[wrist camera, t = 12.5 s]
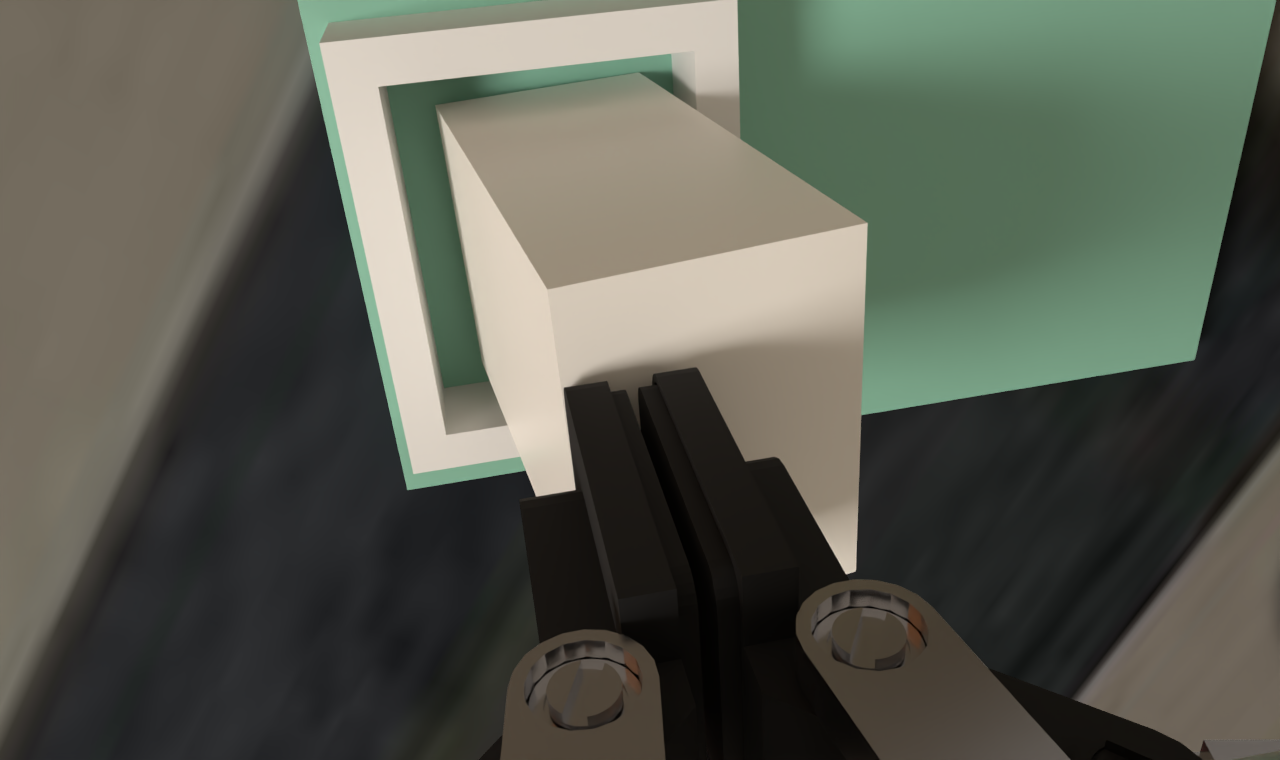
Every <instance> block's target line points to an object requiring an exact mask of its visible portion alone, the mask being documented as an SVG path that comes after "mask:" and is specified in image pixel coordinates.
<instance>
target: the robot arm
mask: <svg viewBox="0 0 1280 760" xmlns="http://www.w3.org/2000/svg"><path fill="white" fill-rule="evenodd" d="M564 400H565V409H566V417H567V425H568V433H569V441H570V449H571V457H572V465H573V473H574V481H575V489H576V490H573V491H567V492H561V493H555V494H549V495H543V496H537V497H531V498H525V499H519V501H520V509H521V516H522V523H523V530H524V536H525V543H526V550H527V557H528V564H529V571H530V578H531V585H532V592H533V599H534V606H535V613H536V620H537V627H538V634H539V641H540V644H539V645H538V646H536V647H535V648H534V649H532V650H531V651H530V652H528V653H527V654H526V655H525V656H524V657H523V658H522V660H521V661H520V662H519V664H518V665H517V666H516V668H515V669H514V670H513V672H512V676H511V679H510V682H509V686H508V689H507V698H506V708H505V718H504V728H503V735H502V736H501V737H500V738H499V739H498V740H497V741H496V742H495V743H494V744H493V745H492V747H491V748H490V749H489V750H488V751H487V752H486V753H485V754H484V755H483V756H482V757H481V758H480V759H479V760H707V755H706V747H707V750H708V753H709V756H710V760H1280V740H1204V741H1203V744H1202V748H1201V751H1200V752H1192V751H1191V750H1189V749H1188V748H1187V747H1186V746H1184V745H1183V744H1182V743H1180V742H1178V741H1176V740H1174V739H1172V738H1170V737H1168V736H1166V735H1164V734H1162V733H1160V732H1158V731H1155V730H1153V729H1150V728H1148V727H1145V726H1142V725H1140V724H1137V723H1134V722H1132V721H1129V720H1126V719H1124V718H1121V717H1118V716H1115V715H1113V714H1110V713H1107V712H1105V711H1102V710H1099V709H1097V708H1094V707H1091V706H1089V705H1086V704H1083V703H1081V702H1078V701H1075V700H1073V699H1070V698H1067V697H1064V696H1062V695H1059V694H1056V693H1054V692H1051V691H1048V690H1046V689H1043V688H1040V687H1038V686H1035V685H1032V684H1030V683H1027V682H1024V681H1022V680H1019V679H1016V678H1013V677H1011V676H1008V675H1005V674H1003V673H1000V672H997V671H995V670H992V669H989V668H987V667H986V666H985V665H984V664H983V662H982V661H981V660H980V659H979V658H978V657H977V656H976V655H975V654H974V652H973V651H972V650H971V649H970V648H969V647H968V646H967V645H966V644H965V643H964V641H963V640H962V639H961V638H960V637H959V636H958V635H957V634H956V633H955V631H954V630H953V629H952V628H951V627H950V626H949V625H948V624H947V623H946V622H945V620H944V619H943V618H942V617H941V616H940V615H939V614H938V613H937V612H936V610H935V609H934V608H933V607H932V606H930V605H929V604H928V603H927V602H926V601H924V600H923V599H922V598H921V597H920V596H918V595H917V594H915V593H913V592H911V591H909V590H906V589H904V588H902V587H900V586H898V585H894V584H890V583H886V582H882V581H877V580H856V579H854V580H849V579H848V577H847V575H846V574H845V572H844V570H843V568H842V566H841V565H840V563H839V561H838V559H837V558H836V556H835V554H834V552H833V551H832V549H831V547H830V545H829V544H828V542H827V540H826V538H825V536H824V535H823V533H822V531H821V529H820V528H819V526H818V524H817V522H816V521H815V519H814V517H813V515H812V514H811V512H810V510H809V508H808V506H807V505H806V503H805V501H804V499H803V498H802V496H801V494H800V492H799V491H798V489H797V487H796V485H795V484H794V482H793V480H792V478H791V477H790V475H789V473H788V471H787V469H786V468H785V466H784V464H783V463H782V462H781V460H780V459H779V458H777V457H770V458H764V459H758V460H752V461H746V462H745V460H744V458H743V456H742V454H741V452H740V450H739V448H738V446H737V444H736V442H735V440H734V438H733V436H732V434H731V432H730V430H729V428H728V426H727V424H726V422H725V420H724V418H723V417H722V415H721V413H720V411H719V409H718V407H717V405H716V403H715V401H714V399H713V397H712V395H711V393H710V391H709V389H708V387H707V385H706V383H705V381H704V379H703V377H702V375H701V373H700V371H699V370H698V368H697V367H693V368H687V369H681V370H674V371H668V372H661V373H655V374H653V377H652V385H651V386H645V387H639V388H638V402H639V414H640V426H641V430H640V427H639V424H638V422H637V419H636V416H635V413H634V411H633V408H632V405H631V402H630V400H629V397H628V394H627V392H626V390H619V391H613V392H611V390H610V387H609V385H608V382H607V381H603V382H596V383H590V384H583V385H577V386H570V387H564Z"/></svg>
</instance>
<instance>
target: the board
mask: <svg viewBox="0 0 1280 760" xmlns="http://www.w3.org/2000/svg"><path fill="white" fill-rule="evenodd" d="M1275 4H1276V0H298V5H299V9H300V14H301V18H302V23H303V27H304V31H305V36H306V40H307V45H308V49H309V54H310V58H311V63H312V67H313V72H314V76H315V80H316V85H317V89H318V94H319V98H320V103H321V107H322V112H323V116H324V121H325V125H326V129H327V134H328V138H329V143H330V147H331V152H332V156H333V161H334V165H335V169H336V174H337V178H338V183H339V187H340V192H341V196H342V201H343V205H344V210H345V214H346V218H347V223H348V227H349V232H350V236H351V241H352V245H353V250H354V254H355V259H356V263H357V267H358V272H359V276H360V281H361V285H362V290H363V294H364V299H365V303H366V308H367V312H368V316H369V321H370V325H371V330H372V334H373V339H374V343H375V348H376V352H377V356H378V361H379V365H380V370H381V374H382V379H383V383H384V388H385V392H386V397H387V401H388V405H389V410H390V414H391V419H392V423H393V428H394V432H395V437H396V441H397V446H398V450H399V454H400V459H401V463H402V468H403V472H404V477H405V481H406V486H407V490H411V489H417V488H423V487H429V486H435V485H441V484H447V483H453V482H459V481H465V480H472V479H478V478H484V477H490V476H496V475H502V474H508V473H514V472H520V471H526V469H525V467H524V465H523V462H522V460H521V457H520V455H519V452H518V450H517V447H516V445H515V442H514V440H513V437H512V435H511V432H510V430H509V427H508V425H507V422H506V420H505V418H504V415H503V413H502V410H501V408H500V405H499V403H498V400H497V398H496V395H495V393H494V390H493V388H492V385H491V383H490V380H489V378H488V375H487V373H486V371H485V368H484V366H483V363H482V359H481V353H480V348H479V342H478V337H477V331H476V326H475V321H474V315H473V310H472V304H471V299H470V293H469V288H468V282H467V277H466V271H465V266H464V260H463V255H462V249H461V244H460V239H459V233H458V228H457V222H456V217H455V211H454V206H453V200H452V195H451V189H450V184H449V178H448V173H447V168H446V162H445V157H444V151H443V146H442V140H441V135H440V129H439V124H438V118H437V113H436V107H435V105H439V104H445V103H451V102H458V101H464V100H470V99H476V98H482V97H489V96H495V95H501V94H507V93H513V92H520V91H526V90H532V89H538V88H545V87H551V86H557V85H563V84H569V83H576V82H582V81H588V80H594V79H600V78H607V77H613V76H619V75H625V74H631V73H638V72H639V73H640V74H642V75H643V76H645V77H647V78H648V79H650V80H651V81H653V82H654V83H656V84H657V85H659V86H660V87H662V88H663V89H665V90H666V91H668V92H669V93H671V94H672V95H674V96H675V97H677V98H678V99H680V100H682V101H683V102H685V103H686V104H688V105H689V106H691V107H692V108H694V109H695V110H697V111H698V112H700V113H701V114H703V115H704V116H706V117H707V118H709V119H710V120H712V121H713V122H715V123H716V124H718V125H720V126H721V127H723V128H724V129H726V130H727V131H729V132H730V133H732V134H733V135H735V136H736V137H738V138H739V139H741V140H742V141H744V142H745V143H747V144H748V145H750V146H751V147H753V148H754V149H756V150H758V151H759V152H761V153H762V154H764V155H765V156H767V157H768V158H770V159H771V160H773V161H774V162H776V163H777V164H779V165H780V166H782V167H783V168H785V169H786V170H788V171H789V172H791V173H793V174H794V175H796V176H797V177H799V178H800V179H802V180H803V181H805V182H806V183H808V184H809V185H811V186H812V187H814V188H815V189H817V190H818V191H820V192H821V193H823V194H824V195H826V196H827V197H829V198H831V199H832V200H834V201H835V202H837V203H838V204H840V205H841V206H843V207H844V208H846V209H847V210H849V211H850V212H852V213H853V214H855V215H856V216H858V217H859V218H861V219H862V220H864V221H865V222H867V223H868V226H867V256H866V285H865V315H864V344H863V374H862V403H861V415H864V414H870V413H876V412H882V411H889V410H895V409H901V408H907V407H913V406H919V405H925V404H931V403H937V402H943V401H949V400H955V399H961V398H967V397H973V396H979V395H985V394H991V393H997V392H1003V391H1009V390H1015V389H1021V388H1028V387H1034V386H1040V385H1046V384H1052V383H1058V382H1064V381H1070V380H1076V379H1082V378H1088V377H1094V376H1100V375H1106V374H1112V373H1118V372H1124V371H1130V370H1136V369H1142V368H1148V367H1154V366H1160V365H1167V364H1173V363H1179V362H1185V361H1191V360H1195V356H1196V352H1197V348H1198V343H1199V339H1200V334H1201V330H1202V326H1203V321H1204V317H1205V312H1206V308H1207V304H1208V299H1209V295H1210V290H1211V286H1212V281H1213V277H1214V273H1215V268H1216V264H1217V259H1218V255H1219V251H1220V246H1221V242H1222V237H1223V233H1224V229H1225V224H1226V220H1227V215H1228V211H1229V207H1230V202H1231V198H1232V193H1233V189H1234V184H1235V180H1236V176H1237V171H1238V167H1239V162H1240V158H1241V154H1242V149H1243V145H1244V140H1245V136H1246V132H1247V127H1248V123H1249V118H1250V114H1251V110H1252V105H1253V101H1254V96H1255V92H1256V87H1257V83H1258V79H1259V74H1260V70H1261V65H1262V61H1263V57H1264V52H1265V48H1266V43H1267V39H1268V35H1269V30H1270V26H1271V21H1272V17H1273V12H1274V8H1275Z"/></svg>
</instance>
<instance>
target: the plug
mask: <svg viewBox="0 0 1280 760" xmlns="http://www.w3.org/2000/svg"><path fill="white" fill-rule="evenodd" d="M435 107H436V113H437V118H438V124H439V129H440V135H441V140H442V146H443V151H444V157H445V162H446V168H447V173H448V178H449V184H450V189H451V195H452V200H453V206H454V211H455V217H456V222H457V228H458V233H459V239H460V244H461V249H462V255H463V260H464V266H465V271H466V277H467V282H468V288H469V293H470V299H471V304H472V310H473V315H474V321H475V326H476V331H477V337H478V342H479V348H480V353H481V359H482V363H483V366H484V368H485V371H486V373H487V375H488V378H489V380H490V383H491V385H492V388H493V390H494V393H495V395H496V398H497V400H498V403H499V405H500V408H501V410H502V413H503V415H504V418H505V420H506V422H507V425H508V427H509V430H510V432H511V435H512V437H513V440H514V442H515V445H516V447H517V450H518V452H519V455H520V457H521V460H522V462H523V465H524V467H525V469H526V472H527V474H528V477H529V479H530V482H531V484H532V487H533V489H534V492H535V494H536V497H537V496H543V495H549V494H555V493H561V492H567V491H573V490H576V489H575V481H574V473H573V465H572V457H571V449H570V441H569V433H568V425H567V417H566V409H565V400H564V387H570V386H577V385H583V384H590V383H596V382H603V381H607V382H608V385H609V387H610V390H611V392H613V391H619V390H626V392H627V394H628V397H629V400H630V402H631V405H632V408H633V411H634V413H635V416H636V419H637V422H638V424H639V427H640V430H641V426H640V414H639V402H638V388H639V387H645V386H651V385H652V377H653V374H655V373H661V372H668V371H674V370H681V369H687V368H693V367H697V368H698V370H699V371H700V373H701V375H702V377H703V379H704V381H705V383H706V385H707V387H708V389H709V391H710V393H711V395H712V397H713V399H714V401H715V403H716V405H717V407H718V409H719V411H720V413H721V415H722V417H723V418H724V420H725V422H726V424H727V426H728V428H729V430H730V432H731V434H732V436H733V438H734V440H735V442H736V444H737V446H738V448H739V450H740V452H741V454H742V456H743V458H744V460H745V462H746V461H752V460H758V459H764V458H770V457H777V458H779V459H780V460H781V462H782V463H783V464H784V466H785V468H786V469H787V471H788V473H789V475H790V477H791V478H792V480H793V482H794V484H795V485H796V487H797V489H798V491H799V492H800V494H801V496H802V498H803V499H804V501H805V503H806V505H807V506H808V508H809V510H810V512H811V514H812V515H813V517H814V519H815V521H816V522H817V524H818V526H819V528H820V529H821V531H822V533H823V535H824V536H825V538H826V540H827V542H828V544H829V545H830V547H831V549H832V551H833V552H834V554H835V556H836V558H837V559H838V561H839V563H840V565H841V566H842V568H843V570H844V572H845V574H849V573H852V572H855V571H856V551H857V521H858V492H859V462H860V433H861V403H862V374H863V344H864V315H865V285H866V256H867V226H868V223H867V222H865V221H864V220H862V219H861V218H859V217H858V216H856V215H855V214H853V213H852V212H850V211H849V210H847V209H846V208H844V207H843V206H841V205H840V204H838V203H837V202H835V201H834V200H832V199H831V198H829V197H827V196H826V195H824V194H823V193H821V192H820V191H818V190H817V189H815V188H814V187H812V186H811V185H809V184H808V183H806V182H805V181H803V180H802V179H800V178H799V177H797V176H796V175H794V174H793V173H791V172H789V171H788V170H786V169H785V168H783V167H782V166H780V165H779V164H777V163H776V162H774V161H773V160H771V159H770V158H768V157H767V156H765V155H764V154H762V153H761V152H759V151H758V150H756V149H754V148H753V147H751V146H750V145H748V144H747V143H745V142H744V141H742V140H741V139H739V138H738V137H736V136H735V135H733V134H732V133H730V132H729V131H727V130H726V129H724V128H723V127H721V126H720V125H718V124H716V123H715V122H713V121H712V120H710V119H709V118H707V117H706V116H704V115H703V114H701V113H700V112H698V111H697V110H695V109H694V108H692V107H691V106H689V105H688V104H686V103H685V102H683V101H682V100H680V99H678V98H677V97H675V96H674V95H672V94H671V93H669V92H668V91H666V90H665V89H663V88H662V87H660V86H659V85H657V84H656V83H654V82H653V81H651V80H650V79H648V78H647V77H645V76H643V75H642V74H640V73H639V72H638V73H631V74H625V75H619V76H613V77H607V78H600V79H594V80H588V81H582V82H576V83H569V84H563V85H557V86H551V87H545V88H538V89H532V90H526V91H520V92H513V93H507V94H501V95H495V96H489V97H482V98H476V99H470V100H464V101H458V102H451V103H445V104H439V105H435Z"/></svg>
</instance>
